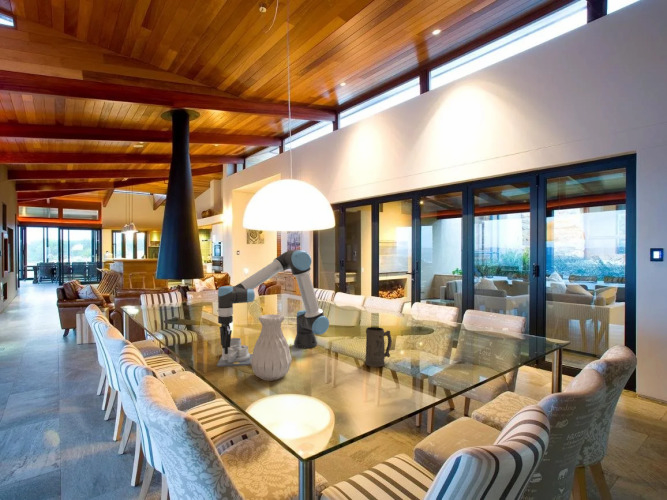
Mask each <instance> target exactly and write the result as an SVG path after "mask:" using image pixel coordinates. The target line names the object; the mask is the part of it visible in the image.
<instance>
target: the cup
mask: <svg viewBox="0 0 667 500" xmlns="http://www.w3.org/2000/svg"><path fill="white" fill-rule="evenodd" d="M233 345H239V346H241V345H242V339H241V338H240V337H233V338H232V337H231V341H230V346H233ZM228 348H230V347H228Z"/></svg>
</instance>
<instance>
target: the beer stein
mask: <svg viewBox="0 0 667 500" xmlns="http://www.w3.org/2000/svg"><path fill="white" fill-rule="evenodd" d="M365 329H366V330H365V334H366V336H365V337H366V339H365V340H366V341H365V342H366V343H365V358H364V359H365V361H364V364H365V365H366V366H369V367H373V368H374V367H375V368H378V367H379V368H380V367H383V366H385V358H386V357H387V358H391V354H390V350H391V347H392V342H393V341H392V336H391V331H390V330H386V331H385V329H384V328H383V327H377V326H369V327H366V328H365ZM385 337H387V346H386V350H385Z"/></svg>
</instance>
